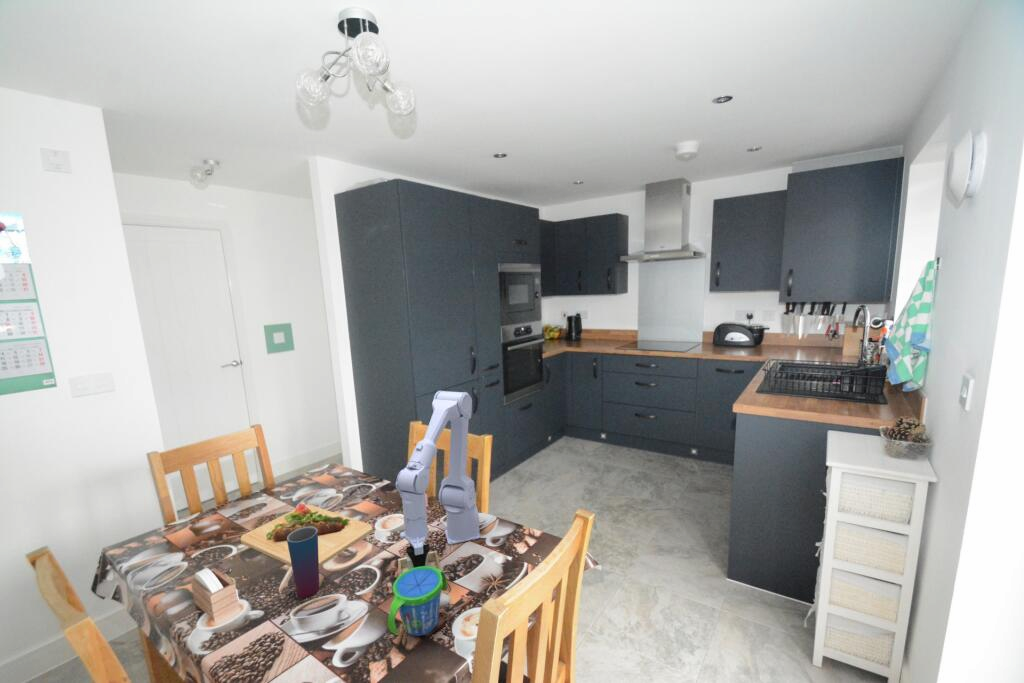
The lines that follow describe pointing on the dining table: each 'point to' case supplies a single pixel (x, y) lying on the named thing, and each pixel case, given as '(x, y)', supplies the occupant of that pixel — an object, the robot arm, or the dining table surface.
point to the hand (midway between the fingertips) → (418, 564)
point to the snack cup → (417, 600)
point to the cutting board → (331, 526)
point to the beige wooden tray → (432, 562)
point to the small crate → (410, 564)
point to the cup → (304, 560)
